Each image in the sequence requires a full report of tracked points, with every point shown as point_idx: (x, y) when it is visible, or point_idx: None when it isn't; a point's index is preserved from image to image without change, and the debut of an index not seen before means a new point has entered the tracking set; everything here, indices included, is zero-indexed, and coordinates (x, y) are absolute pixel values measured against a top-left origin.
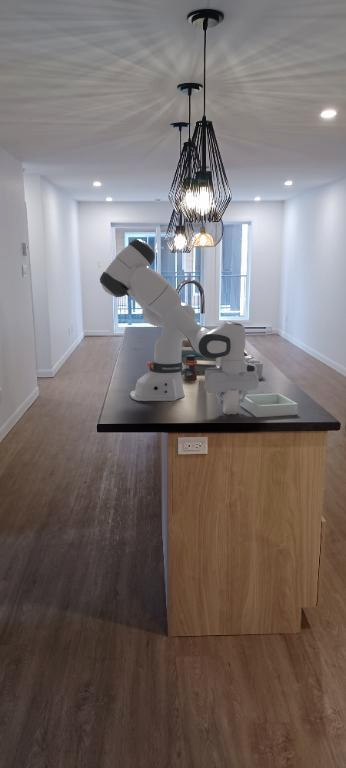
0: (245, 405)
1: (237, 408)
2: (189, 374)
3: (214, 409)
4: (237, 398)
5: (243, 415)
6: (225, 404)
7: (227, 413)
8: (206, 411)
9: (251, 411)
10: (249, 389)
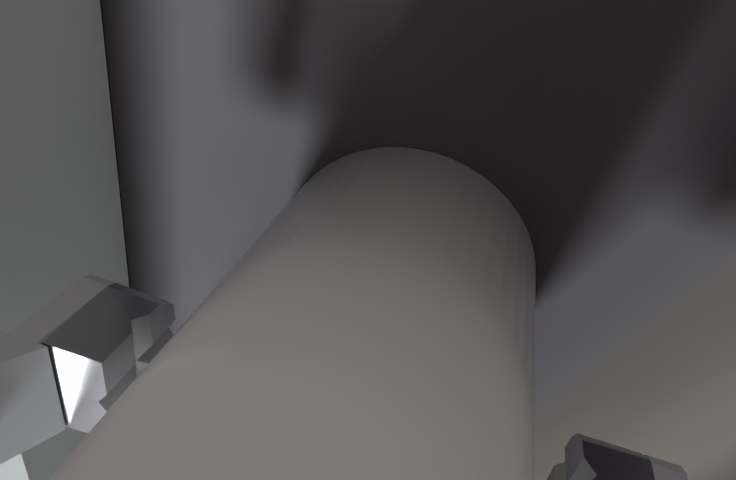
0: None
1: (298, 204)
2: None
3: (534, 469)
4: (194, 345)
5: (281, 6)
6: (532, 380)
7: (517, 220)
8: (726, 475)
9: (78, 59)
10: None
